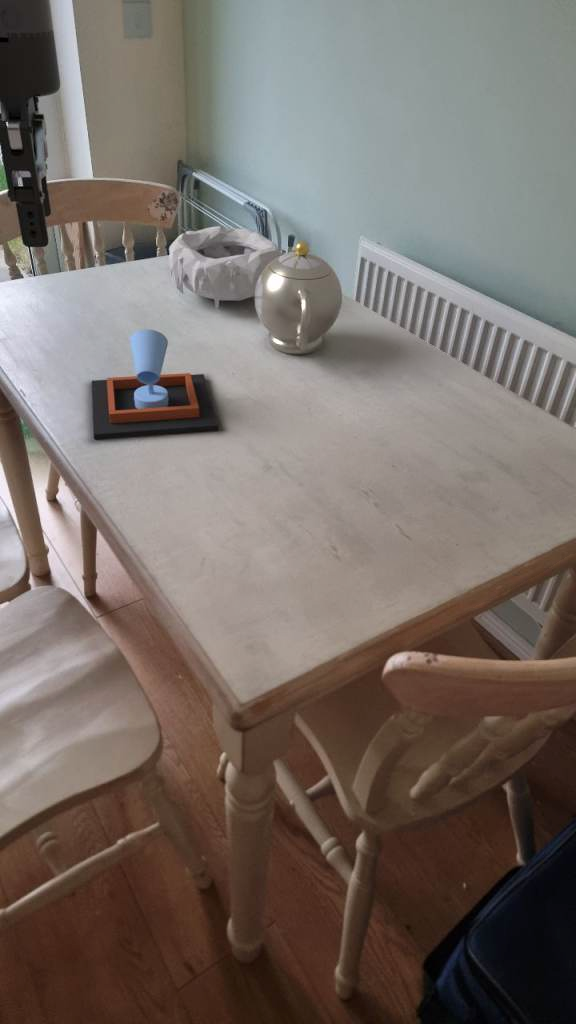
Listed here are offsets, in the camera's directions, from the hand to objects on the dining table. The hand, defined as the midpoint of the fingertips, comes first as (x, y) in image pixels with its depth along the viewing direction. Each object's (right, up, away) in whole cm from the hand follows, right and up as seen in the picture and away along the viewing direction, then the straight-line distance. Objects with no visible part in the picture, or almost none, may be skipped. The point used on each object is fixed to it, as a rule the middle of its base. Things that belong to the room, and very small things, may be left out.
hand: (38, 230), depth 66 cm
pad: (+5, -12, +30) cm, 33 cm away
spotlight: (+5, -12, +29) cm, 32 cm away
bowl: (+12, +13, +61) cm, 63 cm away
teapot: (+25, -1, +46) cm, 52 cm away
